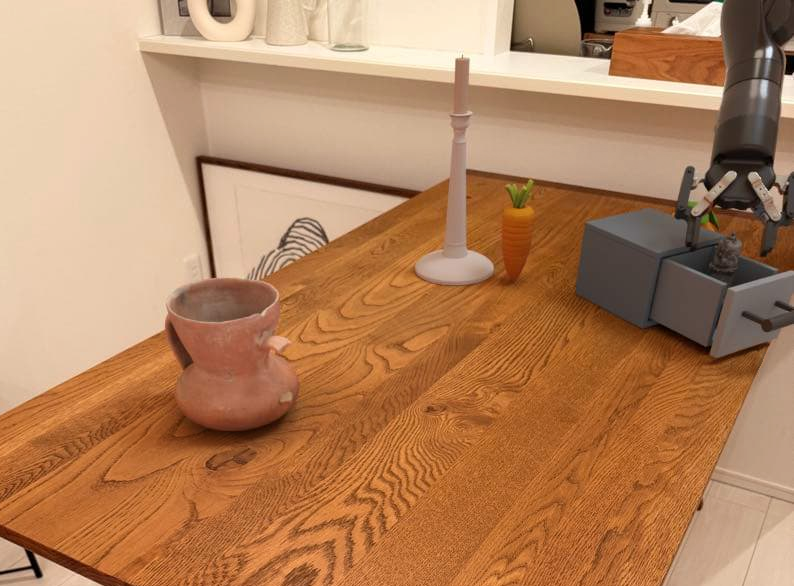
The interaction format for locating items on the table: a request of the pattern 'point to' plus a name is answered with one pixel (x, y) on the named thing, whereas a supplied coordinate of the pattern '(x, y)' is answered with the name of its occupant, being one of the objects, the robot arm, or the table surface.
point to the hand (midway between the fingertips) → (728, 251)
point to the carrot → (517, 230)
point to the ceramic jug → (229, 354)
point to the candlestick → (456, 205)
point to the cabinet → (630, 260)
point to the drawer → (703, 295)
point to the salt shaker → (726, 262)
